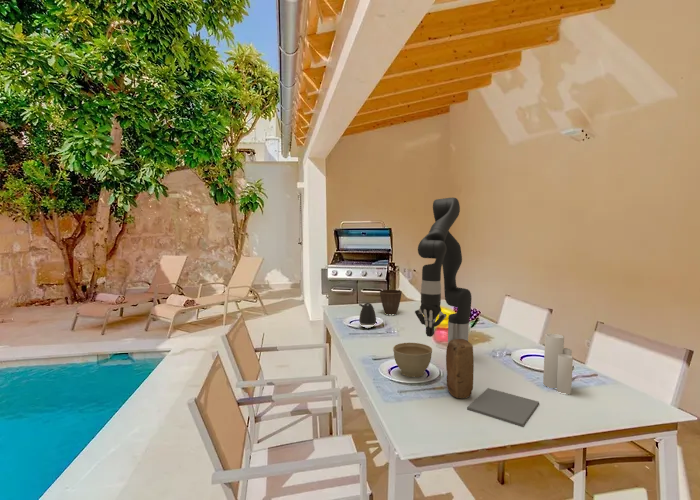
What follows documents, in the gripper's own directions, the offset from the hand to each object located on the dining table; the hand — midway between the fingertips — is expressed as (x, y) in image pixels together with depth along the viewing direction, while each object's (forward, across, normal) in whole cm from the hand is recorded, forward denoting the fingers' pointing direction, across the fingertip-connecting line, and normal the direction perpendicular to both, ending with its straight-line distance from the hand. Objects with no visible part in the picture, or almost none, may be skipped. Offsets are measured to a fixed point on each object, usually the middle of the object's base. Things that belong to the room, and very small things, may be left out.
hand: (429, 336), depth 152 cm
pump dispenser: (+19, +68, -52) cm, 88 cm away
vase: (+19, -40, -29) cm, 53 cm away
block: (+20, -12, 0) cm, 23 cm away
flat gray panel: (+19, -29, 0) cm, 35 cm away
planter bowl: (+20, +11, -6) cm, 23 cm away
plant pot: (+19, +76, -89) cm, 119 cm away
